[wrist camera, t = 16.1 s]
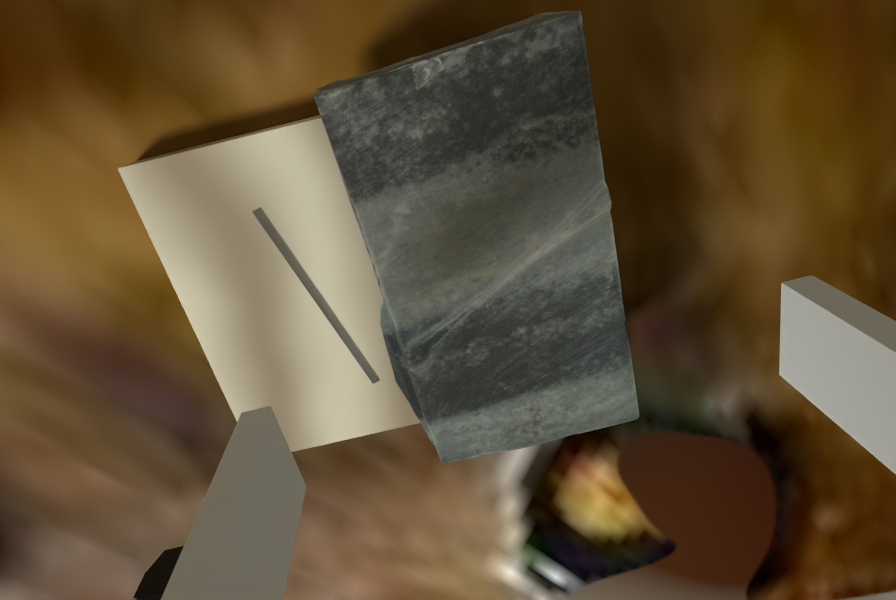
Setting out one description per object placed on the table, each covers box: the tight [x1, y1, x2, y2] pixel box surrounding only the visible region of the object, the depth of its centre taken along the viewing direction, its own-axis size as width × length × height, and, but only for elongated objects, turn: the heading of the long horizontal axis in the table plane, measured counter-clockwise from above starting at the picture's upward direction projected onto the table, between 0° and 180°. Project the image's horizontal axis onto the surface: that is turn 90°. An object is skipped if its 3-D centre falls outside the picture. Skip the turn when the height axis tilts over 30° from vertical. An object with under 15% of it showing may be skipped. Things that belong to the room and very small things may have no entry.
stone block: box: [314, 11, 639, 464], centre depth 20 cm, size 9×14×5 cm, turn 15°
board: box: [118, 115, 420, 452], centre depth 24 cm, size 17×14×2 cm
